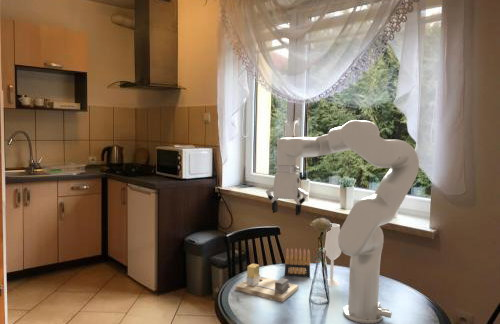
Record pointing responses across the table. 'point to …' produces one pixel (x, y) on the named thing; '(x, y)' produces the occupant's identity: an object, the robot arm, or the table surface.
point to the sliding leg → (253, 274)
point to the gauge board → (269, 288)
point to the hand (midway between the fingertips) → (286, 213)
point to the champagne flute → (332, 250)
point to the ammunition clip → (297, 264)
